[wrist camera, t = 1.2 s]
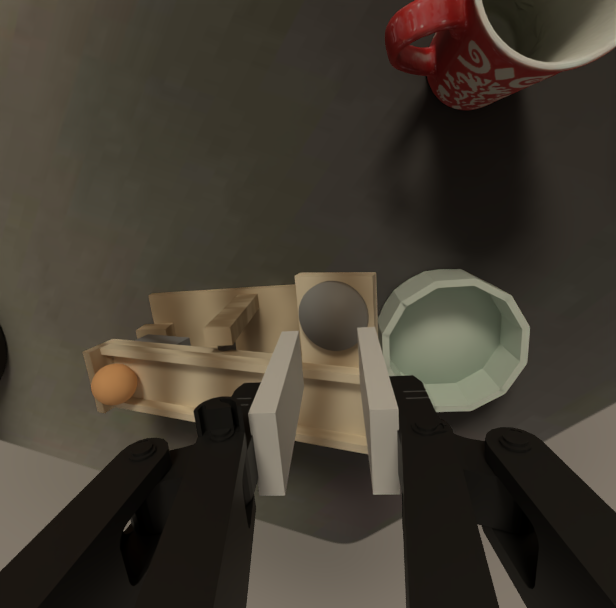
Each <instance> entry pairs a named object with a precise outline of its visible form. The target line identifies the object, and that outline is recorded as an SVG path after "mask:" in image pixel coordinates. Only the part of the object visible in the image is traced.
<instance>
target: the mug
mask: <svg viewBox="0 0 616 608" xmlns="http://www.w3.org/2000/svg"><path fill="white" fill-rule="evenodd" d="M432 33H436V34H435V35H434V37H433V40H432V42H431V44H430V47H426V48H419V47H414V46H411V45H409V44H411V43H412V42H414V41H416V40H418V39H420V38H422V37H424V36H427V35H430V34H432ZM385 45H386V50H387V54H388V58H389V61H390V63H391V65H392V66H393V67H395V68H396V69H398V70H400V71H403V72H406V73H410V74H415V75H422V76H427V79H428V82H429V85H430V87H431V89H432V91H433V93H434V94H435V96H436V97H437V98H438V99H439V100H440V101H441V102H442V103H444V104H445V105H447V106H449V107H451V108H454V109H458V110H474V109H478V108H482V107H484V106H487V105H489V104H491V103H493V102H495V101H498V100H500V99H502V98H504V97H507V96H509V95H511V94H513V93H516V92H518V91H520V90H522V89H524V88H526V87H529V86H531V85H533V84H535V83H538V82H540V81H542V80H544V79H547V78H549V77H551V76H554V75H556V74H558V73H560V72H562V71H567V70H571V69H575V68H578V67H581V66H584V65H586V64H589V63H591V62H593V61H595V60H597V59H599V58H600V57H602V56H604V55H605V54H607V53H609V52H610V51H611V50H613V49H614V48H615V47H616V0H415V1H413V2H411V3H409V4H408V5H406V6H405V7H403V8H402V9H400V10H399V11H398V12H397V13H396V14H395V15H394V16H393V17H392V18H391V20H390V21H389V23H388V25H387V27H386V31H385Z"/></svg>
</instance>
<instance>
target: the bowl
mask: <svg viewBox="0 0 616 608" xmlns="http://www.w3.org/2000/svg"><path fill="white" fill-rule="evenodd" d="M529 334H530V326H529V325H528V323H527V321H526V320H525V318H524V316H523V314H522V313H521V311H520V309H519V307H518V306H517V304H516V302H515V301H514V299H513V297H512V296H511V295H510V294H508V293H506V292H504V291H503V290H501V289H499V288H497V287H496V286H494V285H492V284H490V283H488V282H486V281H484V280H482V279H480V278H478V277H476V276H474V275H472V274H470V273H468V272H466V271H464V270H462V269H436V270H430V271H424V272H422V273H420V274H418V275H415V276H413V277H411V278H410V279H408V280H406V281H405V282H403V283H402V284H401V285H400V286H398V287H397V288H396V289H395V290H394V291H393V292H392V294H391V295H390V296H389V297H388V299H387V300H386V302H385V303H384V306H383V308H382V310H381V312H380V315H379V317H378V340H379V343H380V347H381V350H382V354H383V357H384V360H385V364H386V367H387V371H388V374H389V376H406V375H413V376H415V377H416V378H417V379H419V380H420V381H422V383H423V385H424V387H425V389H426V391H427V394H428V396H429V398H430V400H431V402H432V405H433V407H434V409H435V411H436V412H454V411H472V410H474V409H476V408H478V407H480V406H482V405H484V404H486V403H488V402H490V401H492V400H494V399H496V398H498V397H500V396H502V395H503V394H505V393H506V392H507V391H508V389H509V388H510V386H511V385H512V384H513V382H514V381H515V379H516V378H517V377H518V375H519V374H520V372H521V371H522V370H523V368H524V367H525V366H526V364H527V359H528V346H529Z"/></svg>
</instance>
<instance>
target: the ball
mask: <svg viewBox="0 0 616 608" xmlns="http://www.w3.org/2000/svg"><path fill="white" fill-rule="evenodd" d="M136 388H137V377H136V375H135V373H134V371H133V370H132V369H131V368H130V367H128V366H126V365H124V364H118V363H115V364H109V365H106V366H104V367H102V368H101V369H100V370H99V371H98V372H97V373H96V374H95V375H94V377H93V379H92V383H91V390H92V393H93V395H94V397H95V398H96V399H97V400H98V401H99V402H101V403H103V404H105V405H119V404H122V403H124V402H126V401H127V400H129V399H130V398H131V397H132V396H133V394H134V393H135V391H136Z"/></svg>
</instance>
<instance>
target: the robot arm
mask: <svg viewBox="0 0 616 608" xmlns="http://www.w3.org/2000/svg"><path fill="white" fill-rule="evenodd" d="M357 336H358V356H359V377H360V390H361V398H362V406H363V415H364V423H365V431H366V439H367V448H368V456H369V464H370V473H371V481H372V489H373V495H386V494H400V485H401V490H402V524H403V539H404V563H405V586H406V608H499V605H498V602H497V597H496V594H495V590H494V586H493V583H492V579H491V575H490V571H489V567H488V564H487V560H486V556H485V552H484V548H483V544H482V541H481V537H480V533H479V530H478V526H477V524H479V525H482V528H483V531H484V533H485V535H486V537H487V538H488V540H489V542H490V543H491V545H492V547H493V549H494V551H495V552H496V554H497V556H498V558H499V559H500V561H501V563H502V565H503V566H504V568H505V570H506V572H507V573H508V575H509V577H510V579H511V580H512V582H513V584H514V586H515V587H516V589H517V591H518V593H519V594H520V596H521V598H522V600H523V601H524V603H525V605H526V607H527V608H616V512H615V511H614V510H613V509H611V508H610V507H609V506H608V505H607V504H606V503H605V502H604V501H603V500H602V499H601V498H600V497H599V496H598V495H597V494H596V493H595V492H594V491H593V490H592V489H591V488H590V487H589V486H588V485H587V484H586V483H585V482H584V481H583V480H582V479H581V478H580V477H579V476H578V475H576V474H575V473H574V472H573V471H572V470H571V469H570V468H569V467H568V466H567V465H566V464H565V463H564V462H563V461H562V460H561V459H560V458H559V457H558V456H557V455H556V454H555V453H554V452H553V451H552V450H551V449H550V448H549V447H548V446H547V445H546V444H545V443H544V442H543V441H542V440H540V439H539V438H537V437H536V436H535V435H533V434H531V433H528V432H526V431H524V430H521V429H515V428H506V427H500V428H496V429H492V430H491V431H489V432H488V433H487V434H486V438H485V441H480V440H474V439H469V438H465V437H461V436H458V435H456V434H454V433H453V431H452V429H451V427H450V425H449V424H448V423H446V422H445V421H444V420H442V419H440V418H438V416H437V413H436V411H435V409H434V407H433V405H432V402H431V400H430V398H429V396H428V394H427V391H426V389H425V387H424V385H423V383H422V381H420V380H419V379H417V378H416V377H415V376H413V375H406V376H389V374H388V371H387V367H386V364H385V360H384V357H383V354H382V350H381V347H380V343H379V340H378V336H377V333H376V329H375V327H361V328H357ZM5 364H6V345H5V340H4V337H3V333H2V331H1V328H0V378H1V376H2V374H3V372H4V369H5ZM303 390H304V380H303V370H302V359H301V348H300V337H299V331H284V332H281V335H280V337H279V340H278V342H277V345H276V347H275V349H274V352H273V354H272V357H271V359H270V362H269V364H268V366H267V369H266V371H265V374H264V376H263V379H262V381H261V382H254V383H243V384H242V385H241V386H239V387H238V388H237V389H236V390H235V391H234V393H233V395H232V396H231V397H230V396H221V397H216V398H212V399H209V400H206V401H204V402H202V403H201V404H199V405H198V406H197V407H196V408H195V409H194V411H193V412H194V417H195V422H196V428H197V433H198V438H197V441H196V444H194V445H191V446H187V447H183V448H179V449H174V450H170V451H169V447H168V443H167V442H166V441H165V440H164V439H160V438H147V439H143V440H139V441H137V442H135V443H133V444H131V445H129V446H128V447H126V448H125V449H124V450H122V451H121V452H120V453H119V454H118V455H117V456H116V457H115V458H114V459H113V460H112V461H111V462H110V463H109V464H108V465H107V466H106V467H105V468H104V469H103V470H102V471H101V472H100V473H99V474H98V475H97V476H96V477H95V478H94V479H93V480H92V481H91V482H90V483H89V484H88V485H87V486H86V487H85V488H84V489H83V490H82V491H81V492H80V493H79V494H78V495H77V496H76V497H75V498H74V499H73V500H72V501H71V502H70V503H69V504H68V505H67V506H66V507H65V508H64V509H63V510H62V511H61V512H60V513H59V514H58V515H57V516H56V517H55V518H54V519H53V520H52V521H51V522H50V523H49V524H48V525H47V526H46V527H45V528H44V529H43V530H42V531H41V532H40V533H39V534H38V535H37V536H36V537H35V538H34V539H33V540H32V541H31V542H30V543H29V544H28V545H27V546H26V547H25V548H23V549H22V551H21V552H19V553H18V555H17V556H16V557H14V558H13V560H11V562H9V564H8V565H6V567H4V568H3V569H2V570H1V571H0V608H246V603H247V593H248V582H249V573H250V563H251V553H252V543H253V533H254V523H255V513H256V505H255V498H254V492H255V488H256V485H257V481H258V488H259V496H285V493H286V487H287V482H288V476H289V470H290V464H291V459H292V453H293V447H294V442H295V436H296V430H297V424H298V419H299V413H300V407H301V401H302V396H303ZM129 520H131V524H130V525H129V527H128V528H127V529H126V530H125V531H124V532H123V530H124V527H125V526H126V524H127V523H128V521H129Z"/></svg>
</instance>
